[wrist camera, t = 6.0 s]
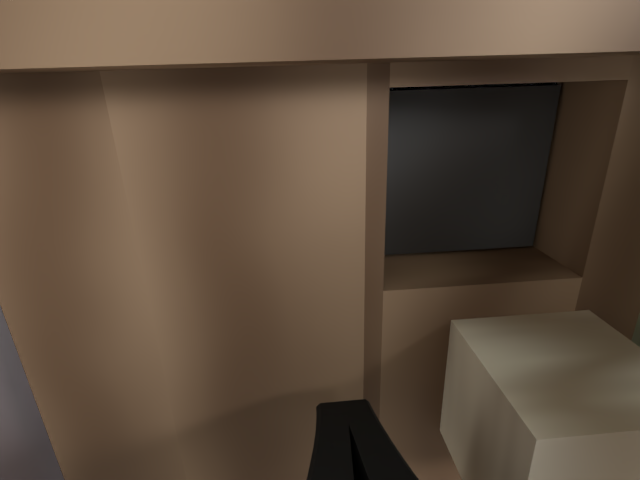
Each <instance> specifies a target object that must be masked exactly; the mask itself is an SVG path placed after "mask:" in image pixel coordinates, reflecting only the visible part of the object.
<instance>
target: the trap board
mask: <svg viewBox="0 0 640 480" xmlns="http://www.w3.org/2000/svg"><path fill="white" fill-rule="evenodd" d="M544 82H558V83H557V85H544V86H514V87H484V88H455V89H425V90H395V91H389V89H390V88H393V87H424V86H454V85H484V84H514V83H544ZM0 306H1V308H2V311H3V314H4V317H5V319H6V322H7V325H8V327H9V330H10V333H11V336H12V338H13V341H14V344H15V347H16V349H17V352H18V355H19V357H20V360H21V363H22V366H23V368H24V371H25V374H26V376H27V379H28V382H29V385H30V387H31V390H32V393H33V395H34V398H35V401H36V404H37V406H38V409H39V412H40V414H41V417H42V420H43V423H44V425H45V428H46V431H47V433H48V436H49V439H50V442H51V444H52V447H53V450H54V452H55V455H56V458H57V461H58V463H59V466H60V469H61V472H62V474H63V477H64V480H307V476H308V471H309V466H310V461H311V456H312V452H313V446H314V439H315V432H316V418H317V417H316V406H318V405H319V404H320V403H326V402H337V401H349V400H360V399H366V400H367V401H369V402H370V404H371V406H372V408H373V410H374V412H375V414H376V416H377V417H378V419H379V421H380V423H381V424H382V426H383V428H384V429H385V431H386V433H387V434H388V436H389V437H390V439H391V440H392V442H393V444H394V445H395V447H396V448H397V450H398V451H399V452H400V454H401V455H402V457H403V458H404V460H405V461H406V462H407V464H408V465H409V467H410V468H411V470H412V471H413V472H414V474H415V475H416V476H417V478H418V479H419V480H462V479H461V476H460V474H459V472H458V470H457V467H456V465H455V463H454V461H453V459H452V456H451V454H450V452H449V450H448V448H447V445H446V443H445V441H444V439H443V437H442V434H441V432H440V422H441V412H442V403H443V393H444V383H445V374H446V364H447V354H448V345H449V335H450V325H451V320H460V319H473V318H487V317H501V316H514V315H528V314H542V313H555V312H569V311H582V310H590V311H591V312H592V313H594V314H595V315H597V316H598V317H599V318H601V319H602V320H603V321H605V322H606V323H607V324H609V325H610V326H612V327H613V328H614V329H616V330H617V331H618V332H620V333H621V334H622V335H624V336H625V337H627V338H628V339H629V340H631V341H632V342H633V343H635V344H636V345H638V346H639V347H640V0H0Z"/></svg>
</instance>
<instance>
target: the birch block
mask: <svg viewBox="0 0 640 480" xmlns="http://www.w3.org/2000/svg"><path fill="white" fill-rule="evenodd" d="M440 432H441V434H442V437H443V439H444V441H445V443H446V445H447V448H448V450H449V452H450V454H451V456H452V459H453V461H454V463H455V465H456V467H457V470H458V472H459V474H460V476H461V479H462V480H640V347H639V346H638V345H636V344H635V343H633V342H632V341H631V340H629V339H628V338H627V337H625V336H624V335H622V334H621V333H620V332H618V331H617V330H616V329H614V328H613V327H612V326H610V325H609V324H607V323H606V322H605V321H603V320H602V319H601V318H599V317H598V316H597V315H595V314H594V313H592V312H591V311H590V310H582V311H569V312H555V313H542V314H528V315H514V316H501V317H487V318H473V319H460V320H451V325H450V335H449V345H448V354H447V364H446V374H445V383H444V393H443V403H442V412H441V422H440Z"/></svg>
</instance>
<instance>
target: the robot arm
mask: <svg viewBox="0 0 640 480" xmlns="http://www.w3.org/2000/svg"><path fill="white" fill-rule="evenodd" d="M316 417H317V418H316V432H315V439H314V446H313V452H312V456H311V461H310V466H309V471H308V476H307V480H419V479H418V478H417V476H416V475H415V474H414V472H413V471H412V470H411V468H410V467H409V465H408V464H407V462H406V461H405V460H404V458H403V457H402V455H401V454H400V452H399V451H398V450H397V448H396V447H395V445H394V444H393V442H392V440H391V439H390V437H389V436H388V434H387V433H386V431H385V429H384V428H383V426H382V424H381V423H380V421H379V419H378V417H377V416H376V414H375V412H374V410H373V408H372V406H371V404H370V402H369V401H367V400H366V399H360V400H349V401H337V402H326V403H320V404H319V405H318V406H316Z"/></svg>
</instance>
